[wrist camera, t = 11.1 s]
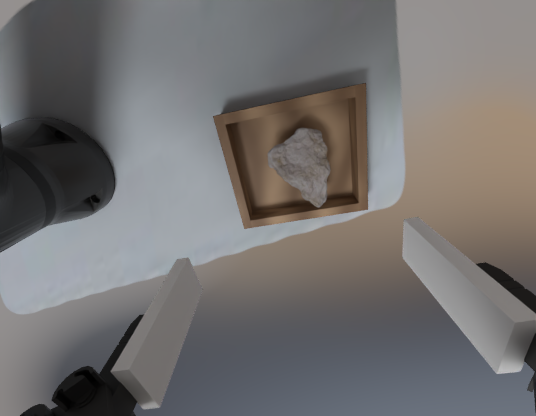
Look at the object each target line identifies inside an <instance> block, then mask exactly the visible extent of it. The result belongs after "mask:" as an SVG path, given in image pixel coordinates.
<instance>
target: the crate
mask: <svg viewBox="0 0 536 416" xmlns="http://www.w3.org/2000/svg"><path fill="white" fill-rule="evenodd" d="M213 118H214V122H215V125H216V129H217V132H218V136H219V140H220V143H221V147H222V150H223V154H224V157H225V161H226V165H227V168H228V172H229V175H230V179H231V182H232V186H233V190H234V193H235V197H236V200H237V204H238V208H239V211H240V215H241V218H242V222H243V225H244V229H247V228H253V227H259V226H266V225H272V224H279V223H285V222H291V221H298V220H304V219H310V218H317V217H323V216H330V215H336V214H342V213H349V212H355V211H362V210H368V180H367V116H366V83H363V84H358V85H353V86H348V87H344V88H339V89H335V90H330V91H325V92H321V93H316V94H312V95H307V96H303V97H298V98H293V99H289V100H284V101H280V102H275V103H270V104H266V105H261V106H257V107H252V108H248V109H243V110H238V111H234V112H229V113H225V114H220V115H216V116H213ZM299 128H311V129H317V130H319V131H321V133H322V139H323V142H325V145H326V146H327V155H326V156H327V159H328V161H329V165H330V169H331V171H330V174H329V176H328V178H327V200H326V202H324V203H323V205H322V206H321V207H319V208H318V207H316V206H314V205H313V204H312V203H311V202H310V201H309V200H308V201H307V200H305V199H304V198H303V197H302V196H301V194H302V193H301V191H300V190H299V189H298V188H295V187H293V186H291V185H290V184H289V183H288V182H286V181H284V179H283V178H282V177H281V176H279V175H278V174H277V172H276V170H274V168H270V167H269V165H268V152H269V151H270V150H271V149H272V148H273V147H274V146H276V145H278V144H282V143H284V142H285V141H286V140H287V139H289V138H290V137H291V136H292V135H294V133H295V131H296V130H297V129H299Z"/></svg>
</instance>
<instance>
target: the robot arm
mask: <svg viewBox="0 0 536 416" xmlns="http://www.w3.org/2000/svg"><path fill="white" fill-rule="evenodd" d="M113 192H114V175H113V171H112V168H111V165H110V163H109V161H108V159H107V157H106V156H105V154H104V153H103V151H102V150H101V148H100V147H99V146H98V145H97V144H96V143H95V142H94V141H93V140H92V139H91V138H90V137H89V136H88V135H87V134H85V133H84V132H83V131H81V130H80V129H78V128H76V127H75V126H73V125H71V124H69V123H66V122H64V121H61V120H57V119H52V118H33V119H24V120H19V121H16V122H13V123H11V124H9V125H7V126H5V127H3V128H1V126H0V252H2V251H4V250H5V249H7V248H9V247H11V246H12V245H14V244H16V243H18V242H19V241H21V240H23V239H25V238H26V237H28V236H30V235H32V234H33V233H35V232H37V231H39V230H40V229H42V228H44V227H46V226H48V225H53V224H58V223H63V222H67V221H72V220H77V219H82V218H85V217H88V216H90V215H92V214H94V213H96V212H97V211H99V210H100V209H102V208H103V207H105V206H106V205H107V204H108V202H109V201H110V200H111V198H112V195H113ZM403 259H404V260H405V261H406V262H407V264H408V265H409V266H410V267H411V269H412V270H413V271H414V272H415V274H416V275H417V276H418V277H419V279H420V280H421V281H422V282H423V284H424V285H425V286H426V287H427V288H428V290H429V291H430V292H431V293H432V295H433V296H434V297H435V298H436V300H437V301H438V302H439V303H440V304H441V306H442V307H443V308H444V309H445V311H446V312H447V313H448V314H449V316H450V317H451V318H452V319H453V320H454V322H455V323H456V324H457V325H458V327H459V328H460V329H461V330H462V331H463V333H464V334H465V335H466V336H467V338H468V339H469V340H470V341H471V343H472V344H473V345H474V346H475V347H476V349H477V350H478V351H479V352H480V354H481V355H482V356H483V357H484V359H485V360H486V361H487V362H488V364H489V365H490V366H491V367H492V369H493V370H494V371H495V372H496V373H497V374H500V373H511V372H520V371H521V368H522V366H523V364H524V362H526V363H527V364H528V365H529V366H530V367H531V368H532V369H533V370H534V371H535V373H534V375H533V377H532V379H531V381H530V383H529V386H528V389H527V390H529V391H530V392H532V391H533V389H534V398H535V411H536V296H535V295H534V294H533V293H531V292H530V291H529V290H527V289H525V288H524V287H523V286H522V285H521V284H519V283H518V282H517V281H514V280H513V278H511V277H510V276H509V275H508V274H506V273H505V272H503V271H502V270H501V269H498V268H496V267H494V266H492V265H490V264H488V263H479V264H475V263H473V262H472V261H471V260H470V259H469V258H467V257H466V256H465V255H464V254H462V253H461V252H460V251H459V250H458V249H456V248H455V247H454V246H453V245H451V244H450V243H449V242H448V241H447V240H445V239H444V238H443V237H442V236H441V235H439V234H438V233H437V232H435V231H434V230H433V229H432V228H430V227H429V226H428V225H427V224H426V223H425V222H423V221H422V220H421V219H420V218H418V217H415V218H409V219H404V229H403ZM202 290H203V288H202V286H201V284H200V282H199V280H198V278H197V275H196V273H195V271H194V269H193V267H192V264H191V262H190V260H189V258H182V259H177V260H176V262H175V264H174V265H173V267H172V269H171V270H170V272H169V274H168V275H167V277H166V279H165V281H164V282H163V284H162V286H161V287H160V289H159V291H158V293H157V294H156V296H155V298H154V299H153V301H152V303H151V304H150V306H149V308H148V309H147V311H146V313H145V314H144V315H139V316H138V317H137V318H136V319H135V320H134V321H133V322H132V323H131V325H130V326H129V328H128V329H127V331H126V332H125V334H124V336H123V337H122V339H121V340H120V342H119V345H117V347H116V349H115V350H114V352H113V353H112V355H111V356H110V358H109V360H108V361H107V363H106V364H105V366H104V367H103V369H102V371H101V372H100V374H98V373H97V372H96V371H95V370H94V369H93V368H92V367H90V366H86V367H82V368H80V369H78V370H76V371H74V372H73V373H72V374H70V375H69V376H68V377H67V378H66V379H65V380H64V381H63V382H62V383H61V384H60V385H59V386H58V388H57V389H56V391H55V392H54V395H53V397H52V401H53V402H54V403H56V404H57V405H58V406H57V407H55V408H53V409H51V410H50V409H49V408H48V407H47V406H45V405H44V404H38V405H35V406H33V407H31V408H30V409H28V410H26V411H25V412H23V413H22V414H21V415H20V416H136V415H135V414H134V412H133V410H134V408H135V405H136V403H137V402H138V404H139V405H140V406H141V407H142V408H143V409H150V408H159V407H160V406H161V403H162V400H163V398H164V395H165V392H166V389H167V387H168V384H169V381H170V378H171V376H172V373H173V370H174V367H175V364H176V362H177V359H178V356H179V353H180V351H181V348H182V345H183V343H184V340H185V337H186V334H187V331H188V329H189V326H190V323H191V320H192V318H193V315H194V312H195V310H196V307H197V304H198V301H199V299H200V296H201V293H202Z"/></svg>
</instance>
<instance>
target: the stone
mask: <svg viewBox="0 0 536 416" xmlns="http://www.w3.org/2000/svg"><path fill="white" fill-rule="evenodd" d="M326 155H327V146H326V145H325V142H323V139H322V133H321V131H319V130H317V129H311V128H299V129H297V130H296V131H295V133H294V135H292V136H291V137H290V138H289V139H287V140H286V141H285V142H284V143H282V144H278V145H276V146H274V147H273V148H272V149H271V150H270V151H269V152H268V165H269V167H270V168H274V170H276V172H277V174H278V175H279V176H281V177H282V178H283V179H284V181H286V182H288V183H289V184H290V185H291V186H293V187H295V188H298V189H299V190H300V191H301V193H302V194H301V196H302V197H303V198H304V199H305V200H307V201H308V200H309V201H310V202H311V203H312V204H313V205H314V206H316V207H318V208H319V207H321V206H322V205H323V203H324V202H326V200H327V178H328V176H329V174H330V171H331V169H330V165H329V161H328V159H327V156H326Z"/></svg>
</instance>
